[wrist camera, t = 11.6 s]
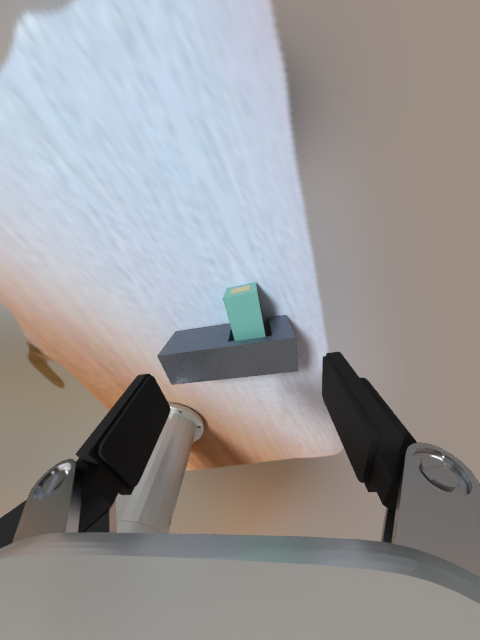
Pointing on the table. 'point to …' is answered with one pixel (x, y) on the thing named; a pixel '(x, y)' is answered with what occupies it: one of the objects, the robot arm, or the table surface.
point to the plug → (244, 312)
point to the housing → (228, 353)
